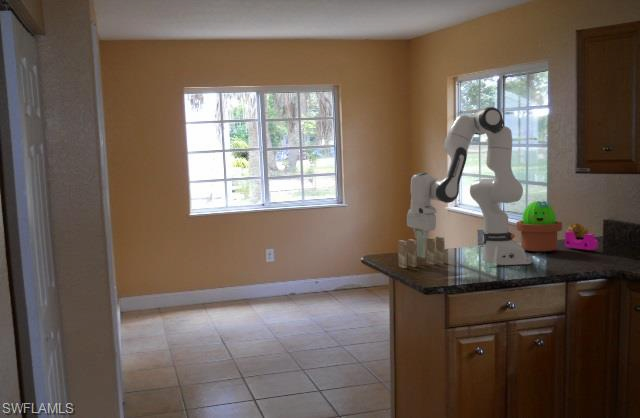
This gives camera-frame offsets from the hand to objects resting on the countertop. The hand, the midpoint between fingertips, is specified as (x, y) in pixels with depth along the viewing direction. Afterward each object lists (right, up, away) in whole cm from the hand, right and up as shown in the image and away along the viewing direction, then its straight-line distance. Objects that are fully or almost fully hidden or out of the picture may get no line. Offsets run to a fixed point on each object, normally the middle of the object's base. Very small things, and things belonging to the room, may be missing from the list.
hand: (420, 238), depth 304 cm
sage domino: (0, -9, +1) cm, 9 cm away
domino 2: (+5, -12, +3) cm, 13 cm away
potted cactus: (+65, -7, +33) cm, 73 cm away
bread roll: (+99, -2, +71) cm, 122 cm away
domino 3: (+10, -12, +5) cm, 16 cm away
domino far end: (-9, -13, -3) cm, 16 cm away
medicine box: (+42, -6, +51) cm, 67 cm away
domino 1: (-4, -13, -1) cm, 13 cm away
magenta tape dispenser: (+87, -6, +34) cm, 94 cm away
